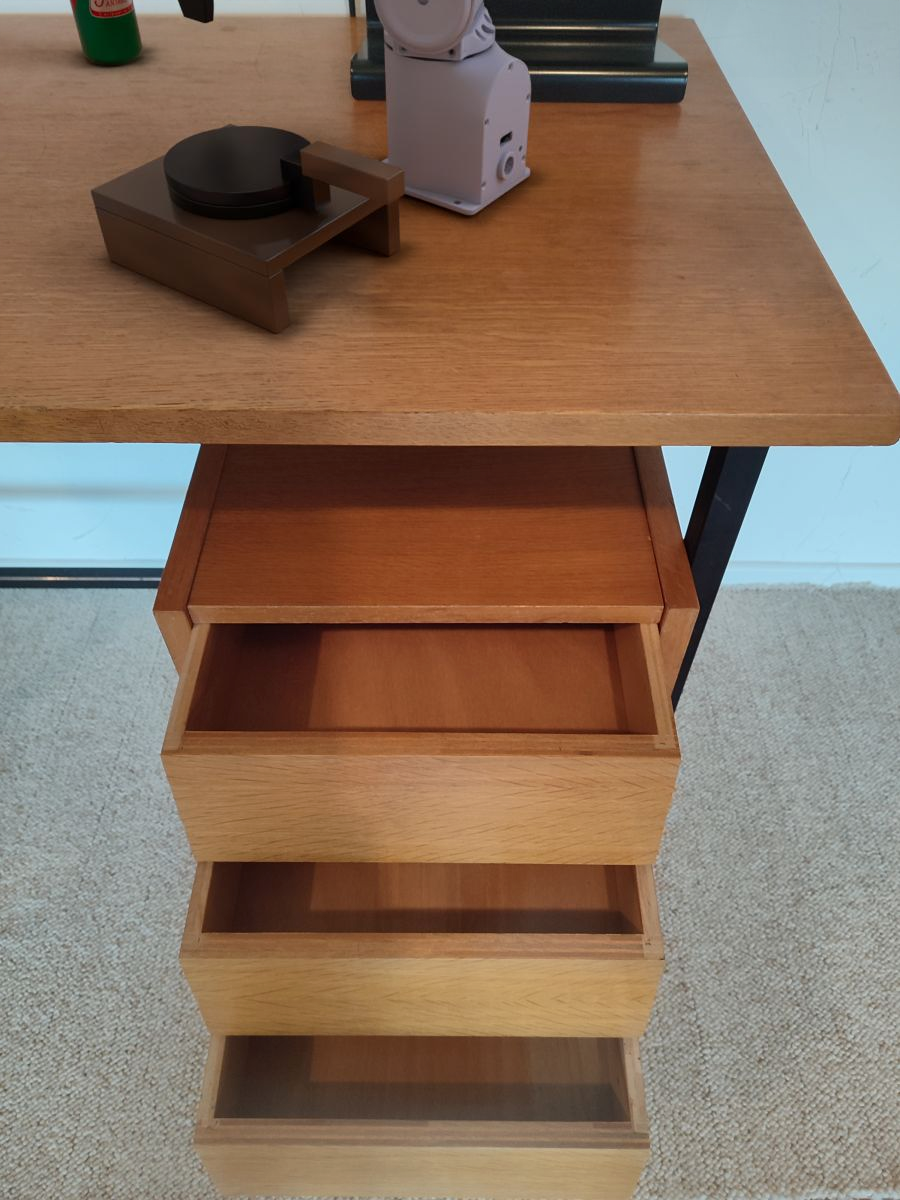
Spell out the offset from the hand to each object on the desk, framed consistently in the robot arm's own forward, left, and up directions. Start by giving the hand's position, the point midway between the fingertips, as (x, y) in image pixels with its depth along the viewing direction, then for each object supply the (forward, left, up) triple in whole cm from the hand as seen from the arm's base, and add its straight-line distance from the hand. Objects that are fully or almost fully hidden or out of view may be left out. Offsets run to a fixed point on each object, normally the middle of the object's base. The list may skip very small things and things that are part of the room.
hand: (239, 3), depth 61 cm
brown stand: (-9, +11, -10) cm, 17 cm away
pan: (-13, +11, -5) cm, 18 cm away
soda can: (+24, -7, -10) cm, 27 cm away
